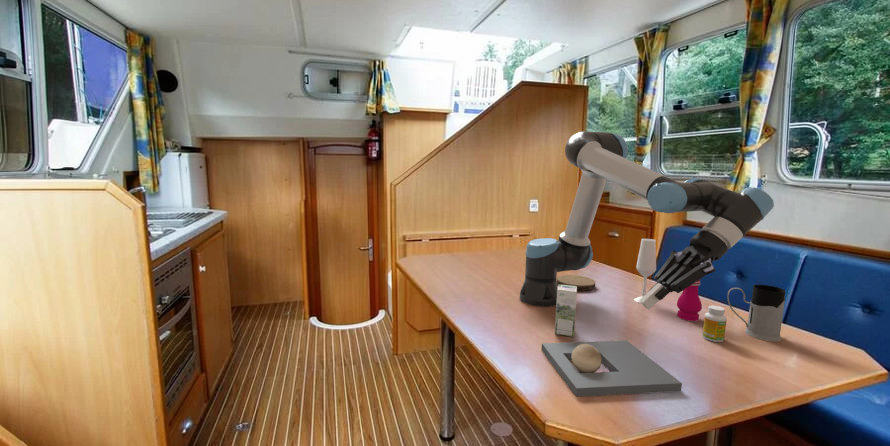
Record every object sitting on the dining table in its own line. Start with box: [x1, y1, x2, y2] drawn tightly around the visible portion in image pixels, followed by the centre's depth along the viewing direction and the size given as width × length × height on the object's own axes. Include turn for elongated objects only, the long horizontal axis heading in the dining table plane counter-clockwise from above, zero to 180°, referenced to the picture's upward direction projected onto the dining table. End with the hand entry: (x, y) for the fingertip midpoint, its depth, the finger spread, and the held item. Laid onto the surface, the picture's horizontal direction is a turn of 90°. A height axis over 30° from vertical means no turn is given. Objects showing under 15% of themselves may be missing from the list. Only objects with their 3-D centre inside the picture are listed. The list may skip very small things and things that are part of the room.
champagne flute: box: [633, 238, 657, 304], centre depth 147 cm, size 7×7×24 cm
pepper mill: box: [676, 279, 703, 322], centre depth 130 cm, size 7×7×20 cm
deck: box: [541, 340, 683, 397], centre depth 97 cm, size 25×22×2 cm
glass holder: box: [726, 284, 786, 343], centre depth 119 cm, size 9×14×15 cm, turn 58°
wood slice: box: [556, 274, 596, 293], centre depth 166 cm, size 16×16×3 cm
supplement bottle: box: [702, 305, 727, 343], centre depth 115 cm, size 5×5×10 cm
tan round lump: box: [571, 344, 602, 373], centre depth 95 cm, size 7×7×7 cm
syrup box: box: [554, 285, 578, 338], centre depth 118 cm, size 6×6×14 cm
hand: (644, 305), depth 96 cm, fingers closed
